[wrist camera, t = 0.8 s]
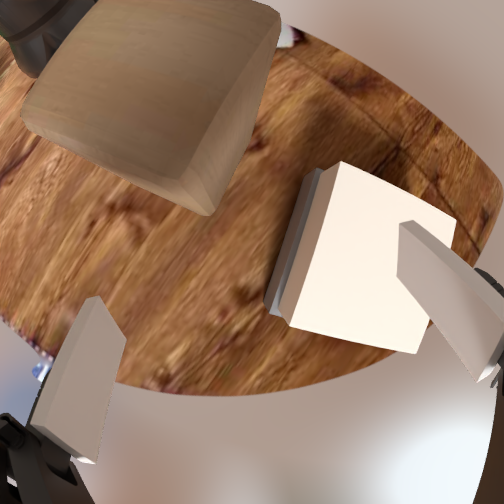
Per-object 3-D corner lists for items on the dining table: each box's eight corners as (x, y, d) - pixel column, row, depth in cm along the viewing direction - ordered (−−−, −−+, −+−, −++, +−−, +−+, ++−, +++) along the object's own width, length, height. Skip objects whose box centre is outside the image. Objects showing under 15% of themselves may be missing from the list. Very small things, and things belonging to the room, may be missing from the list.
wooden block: (171, 103, 28) (119, -28, 8) (253, 136, 29) (292, 6, 9) (129, 182, 28) (6, 120, 8) (211, 220, 29) (181, 193, 9)
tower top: (320, 173, 26) (340, 161, 21) (426, 221, 27) (456, 220, 22) (277, 309, 26) (289, 326, 21) (390, 337, 27) (415, 354, 22)
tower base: (302, 177, 30) (316, 167, 25) (405, 221, 32) (429, 220, 27) (262, 300, 31) (269, 313, 26) (370, 330, 32) (390, 344, 27)
